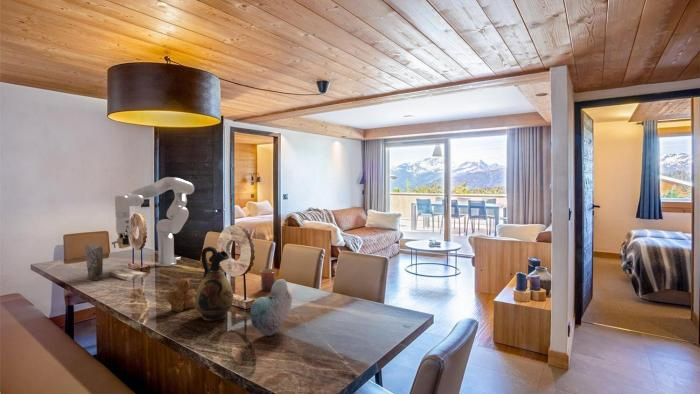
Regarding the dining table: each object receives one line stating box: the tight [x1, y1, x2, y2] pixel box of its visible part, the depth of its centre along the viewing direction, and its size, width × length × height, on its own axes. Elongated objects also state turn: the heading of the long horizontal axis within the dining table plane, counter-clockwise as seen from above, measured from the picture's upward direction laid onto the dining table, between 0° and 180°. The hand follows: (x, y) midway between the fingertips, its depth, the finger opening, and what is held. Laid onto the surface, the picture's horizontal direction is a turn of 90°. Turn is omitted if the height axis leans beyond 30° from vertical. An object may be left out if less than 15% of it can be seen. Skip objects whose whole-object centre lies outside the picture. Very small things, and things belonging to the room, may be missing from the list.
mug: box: [259, 268, 277, 292], centre depth 194 cm, size 12×9×10 cm
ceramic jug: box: [194, 245, 234, 322], centre depth 154 cm, size 17×15×30 cm
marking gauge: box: [111, 237, 131, 249], centre depth 223 cm, size 9×4×6 cm, turn 148°
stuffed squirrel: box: [164, 278, 196, 313], centre depth 164 cm, size 10×14×13 cm
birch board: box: [108, 268, 147, 281], centre depth 221 cm, size 11×22×2 cm, turn 57°
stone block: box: [84, 243, 104, 282], centre depth 214 cm, size 13×7×20 cm, turn 54°
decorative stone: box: [250, 278, 293, 337], centre depth 136 cm, size 21×9×20 cm, turn 151°
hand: (123, 243), depth 225 cm, fingers closed on marking gauge, 3 cm apart
